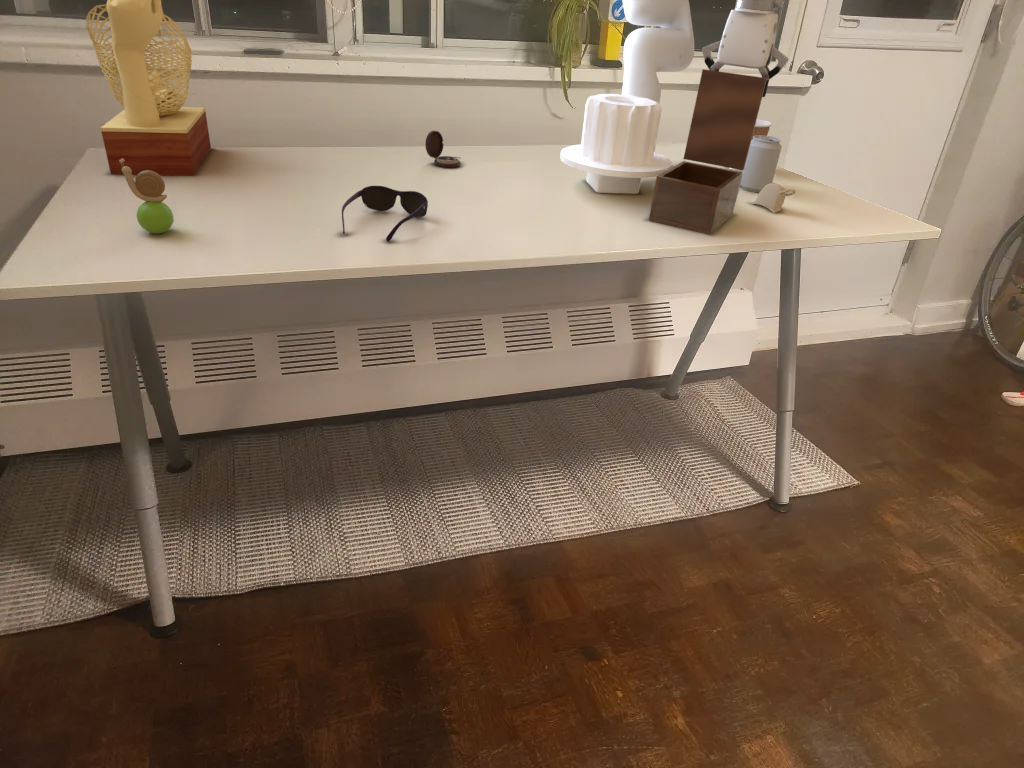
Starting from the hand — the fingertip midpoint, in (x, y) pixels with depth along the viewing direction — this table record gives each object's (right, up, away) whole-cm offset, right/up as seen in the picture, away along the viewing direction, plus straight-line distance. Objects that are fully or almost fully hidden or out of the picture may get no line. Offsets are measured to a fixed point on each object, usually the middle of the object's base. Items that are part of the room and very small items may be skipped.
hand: (735, 96), depth 147 cm
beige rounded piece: (+11, -21, +10) cm, 26 cm away
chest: (-9, -25, 0) cm, 27 cm away
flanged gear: (-23, -15, +16) cm, 32 cm away
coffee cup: (+14, -3, +40) cm, 42 cm away
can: (+12, -13, +23) cm, 29 cm away
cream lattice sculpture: (-124, -11, +8) cm, 124 cm away
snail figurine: (-106, -34, -28) cm, 115 cm away
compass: (-62, -7, +24) cm, 67 cm away
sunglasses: (-70, -31, -17) cm, 78 cm away
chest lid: (-3, -6, -3) cm, 7 cm away
